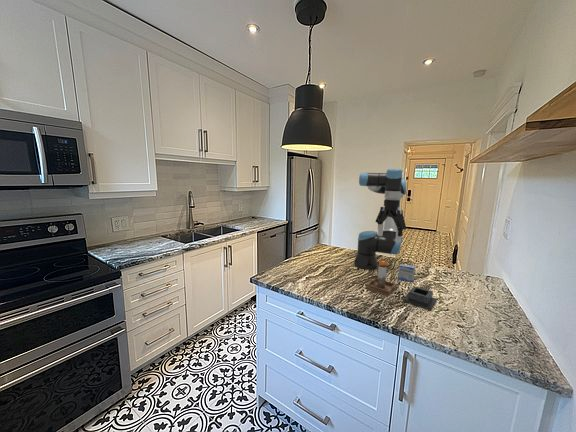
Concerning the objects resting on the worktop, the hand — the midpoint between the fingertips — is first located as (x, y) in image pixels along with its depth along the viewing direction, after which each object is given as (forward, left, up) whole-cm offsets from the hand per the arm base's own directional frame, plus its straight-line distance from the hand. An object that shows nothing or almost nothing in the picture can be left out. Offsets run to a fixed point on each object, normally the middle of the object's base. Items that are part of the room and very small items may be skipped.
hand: (388, 238), depth 130 cm
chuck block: (+5, +19, -27) cm, 33 cm away
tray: (+5, 0, -27) cm, 27 cm away
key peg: (+5, 0, -26) cm, 26 cm away
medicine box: (-17, +6, -27) cm, 32 cm away
